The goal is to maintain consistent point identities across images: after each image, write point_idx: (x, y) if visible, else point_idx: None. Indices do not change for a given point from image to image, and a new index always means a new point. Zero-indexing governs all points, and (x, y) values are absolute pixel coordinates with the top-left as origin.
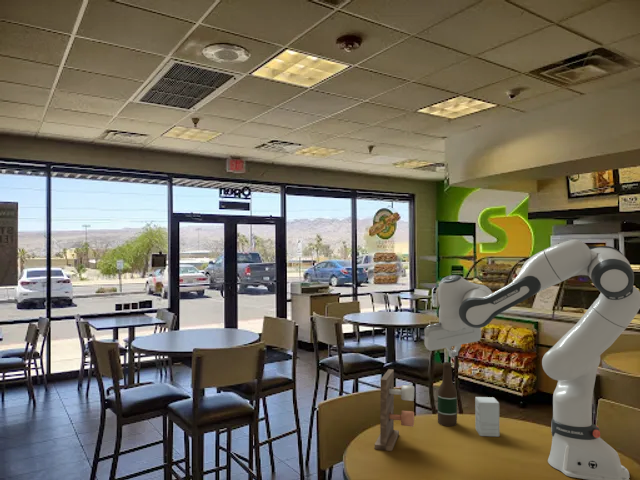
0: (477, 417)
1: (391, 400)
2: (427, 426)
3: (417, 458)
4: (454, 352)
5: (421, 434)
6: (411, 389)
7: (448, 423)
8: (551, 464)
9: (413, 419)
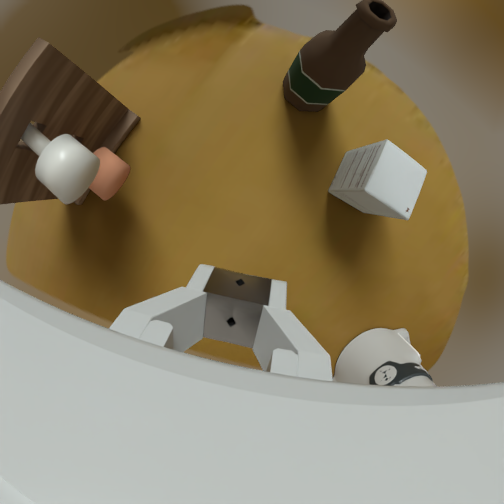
0: (351, 169)
1: (67, 118)
2: (242, 90)
3: (112, 254)
4: (230, 342)
5: (194, 130)
6: (58, 194)
7: (297, 106)
8: (339, 358)
9: (119, 180)
